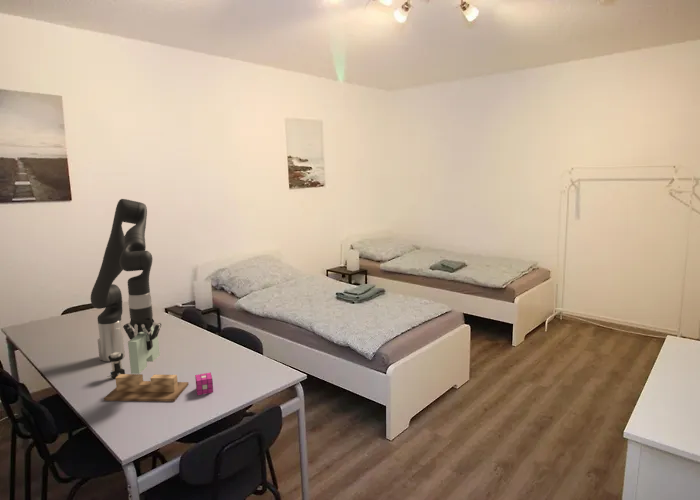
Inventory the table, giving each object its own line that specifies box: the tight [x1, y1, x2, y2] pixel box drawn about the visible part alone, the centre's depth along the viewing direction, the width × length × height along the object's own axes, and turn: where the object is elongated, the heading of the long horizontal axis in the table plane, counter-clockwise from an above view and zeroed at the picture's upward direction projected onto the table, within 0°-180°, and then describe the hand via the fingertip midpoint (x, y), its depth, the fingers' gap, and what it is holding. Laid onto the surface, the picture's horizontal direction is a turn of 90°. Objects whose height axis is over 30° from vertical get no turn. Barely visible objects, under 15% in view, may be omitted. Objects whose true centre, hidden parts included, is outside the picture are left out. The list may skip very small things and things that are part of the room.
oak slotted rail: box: [103, 373, 189, 402], centre depth 165 cm, size 26×13×6 cm, turn 88°
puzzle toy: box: [194, 372, 214, 396], centre depth 166 cm, size 6×6×6 cm
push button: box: [106, 352, 126, 380], centre depth 177 cm, size 7×5×10 cm
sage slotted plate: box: [127, 325, 161, 374], centre depth 163 cm, size 16×3×12 cm, turn 178°
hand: (144, 349), depth 163 cm, fingers closed on sage slotted plate, 3 cm apart
